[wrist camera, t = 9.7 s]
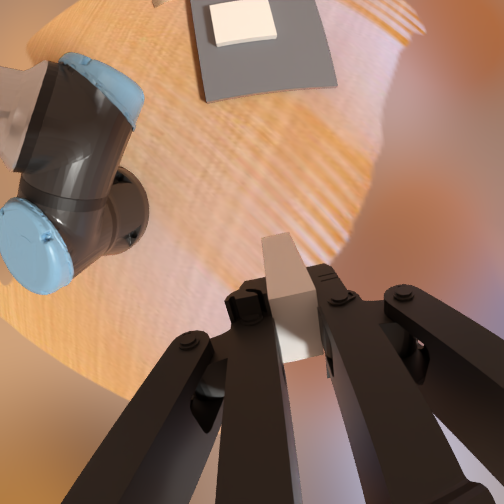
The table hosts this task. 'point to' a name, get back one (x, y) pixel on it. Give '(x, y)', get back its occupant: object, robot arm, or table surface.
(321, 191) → the table surface
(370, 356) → the robot arm
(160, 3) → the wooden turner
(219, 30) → the tile
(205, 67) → the slate board
